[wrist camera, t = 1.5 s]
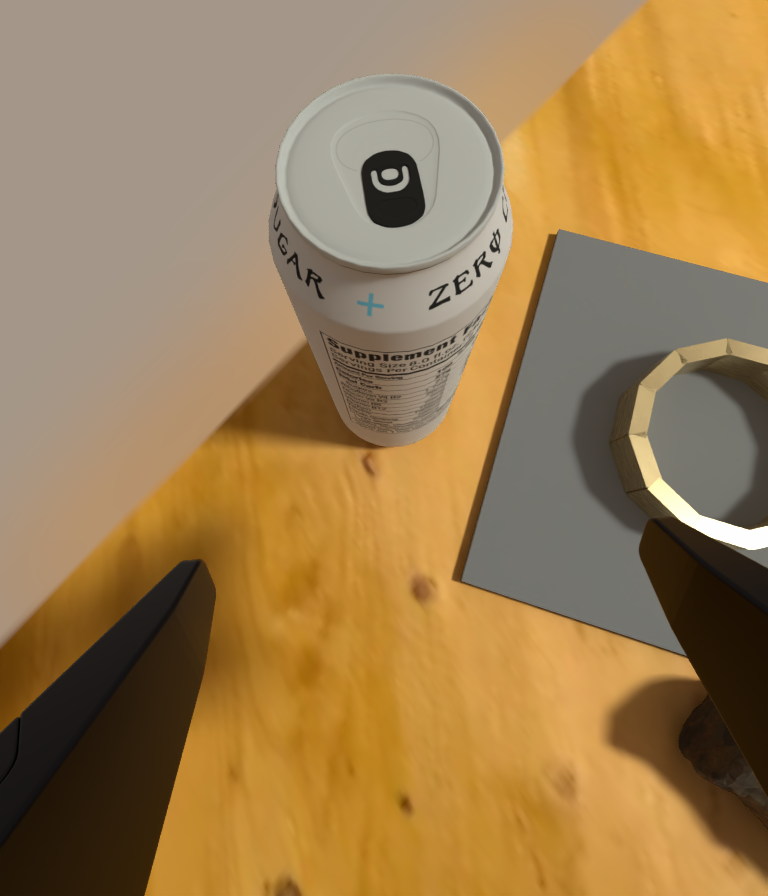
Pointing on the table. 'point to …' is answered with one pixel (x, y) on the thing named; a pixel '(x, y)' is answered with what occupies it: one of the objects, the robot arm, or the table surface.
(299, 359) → the table surface
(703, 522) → the wooden ring
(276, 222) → the energy drink can
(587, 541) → the rubber mat
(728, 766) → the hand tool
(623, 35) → the table surface
